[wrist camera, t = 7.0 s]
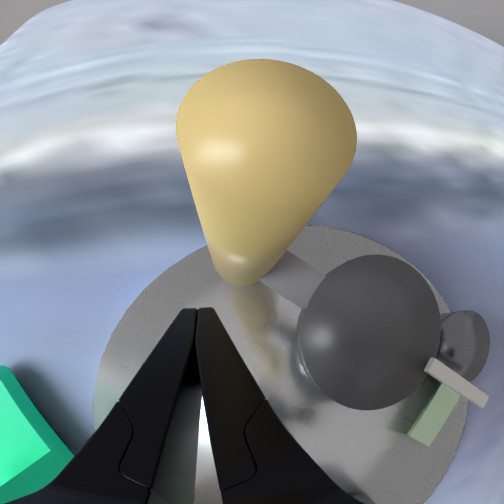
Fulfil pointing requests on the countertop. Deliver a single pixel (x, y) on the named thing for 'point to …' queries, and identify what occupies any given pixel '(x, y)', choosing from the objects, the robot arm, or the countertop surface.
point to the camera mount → (25, 443)
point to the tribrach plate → (298, 383)
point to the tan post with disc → (292, 223)
